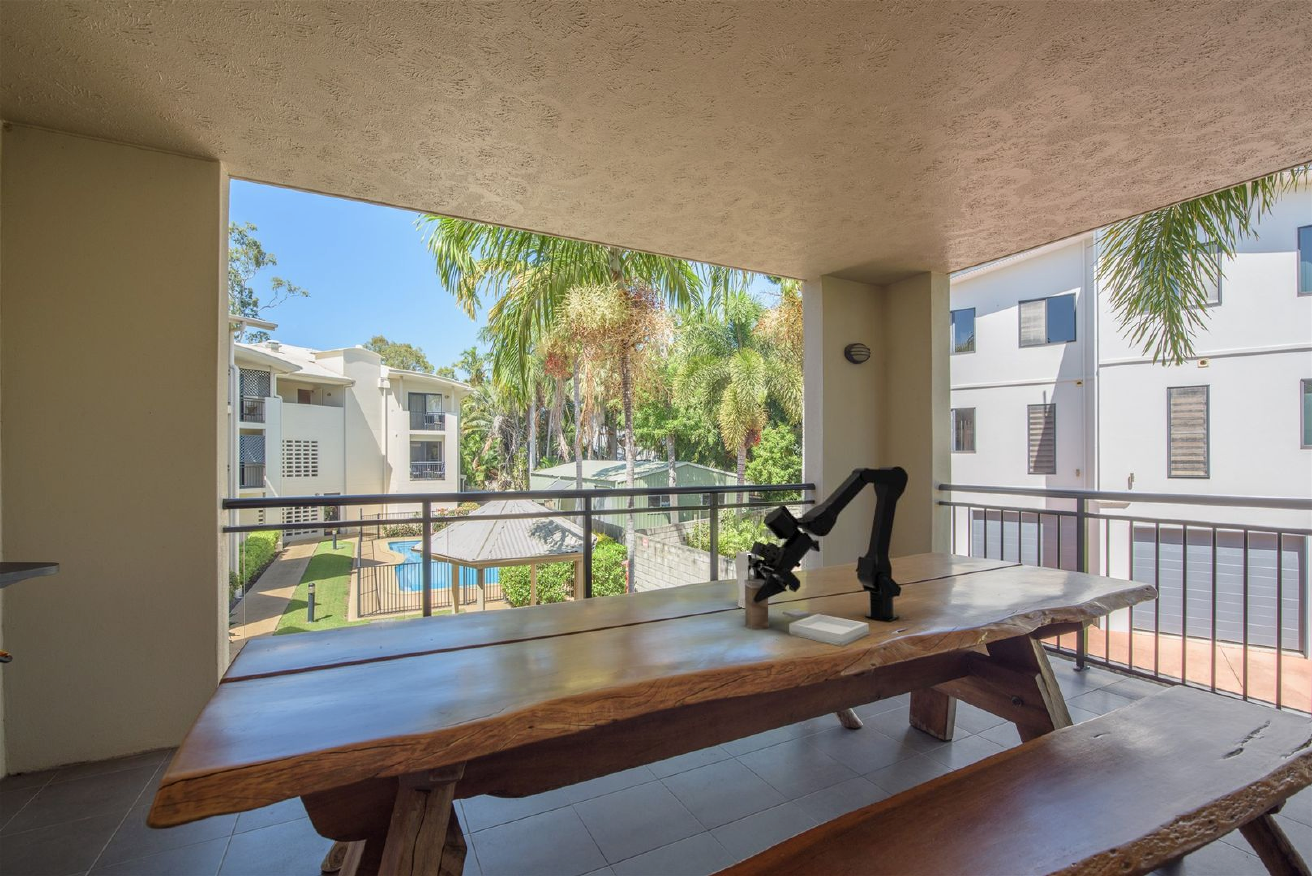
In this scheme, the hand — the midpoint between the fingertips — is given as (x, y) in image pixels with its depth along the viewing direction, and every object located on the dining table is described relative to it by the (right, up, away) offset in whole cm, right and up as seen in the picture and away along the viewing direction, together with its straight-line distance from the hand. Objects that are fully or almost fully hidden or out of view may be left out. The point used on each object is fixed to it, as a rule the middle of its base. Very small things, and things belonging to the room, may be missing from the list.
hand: (751, 599), depth 140 cm
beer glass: (+3, -8, +21) cm, 23 cm away
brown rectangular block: (+1, -7, 0) cm, 7 cm away
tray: (+17, -6, -7) cm, 19 cm away
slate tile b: (+14, -7, +11) cm, 19 cm away
